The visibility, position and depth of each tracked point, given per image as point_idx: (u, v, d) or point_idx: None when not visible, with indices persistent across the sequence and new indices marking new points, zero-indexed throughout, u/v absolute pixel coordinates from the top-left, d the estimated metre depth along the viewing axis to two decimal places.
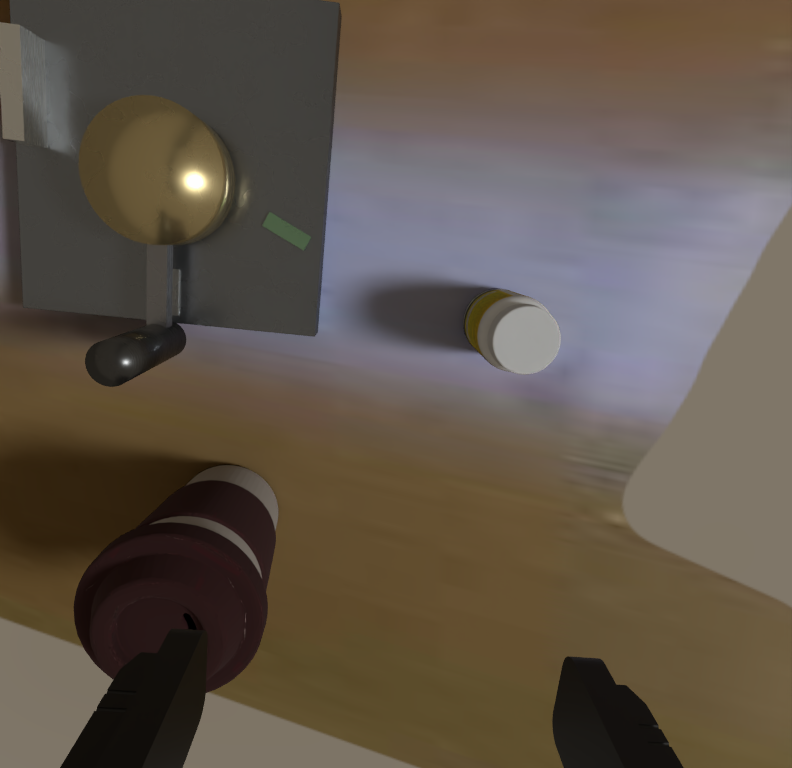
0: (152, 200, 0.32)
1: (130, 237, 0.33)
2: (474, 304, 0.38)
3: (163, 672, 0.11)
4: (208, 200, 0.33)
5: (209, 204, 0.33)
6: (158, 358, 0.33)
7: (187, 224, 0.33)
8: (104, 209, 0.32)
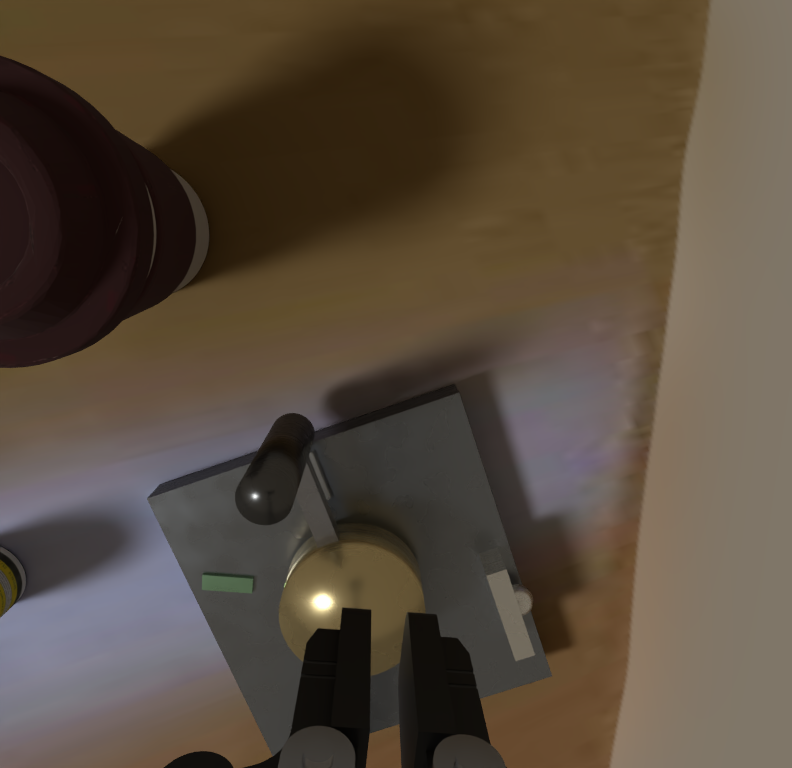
0: (340, 593, 0.31)
1: (348, 551, 0.30)
2: (8, 600, 0.34)
3: (353, 644, 0.12)
4: (289, 615, 0.31)
5: (286, 613, 0.31)
6: None
7: (299, 587, 0.30)
8: (383, 565, 0.30)
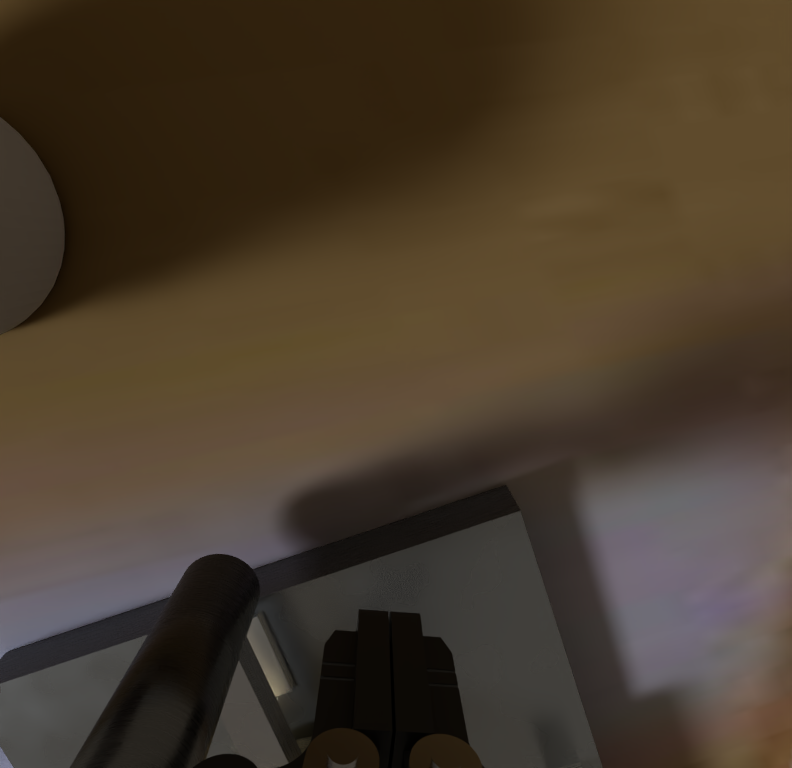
0: None
1: None
2: None
3: (371, 646, 0.12)
4: None
5: None
6: None
7: None
8: None
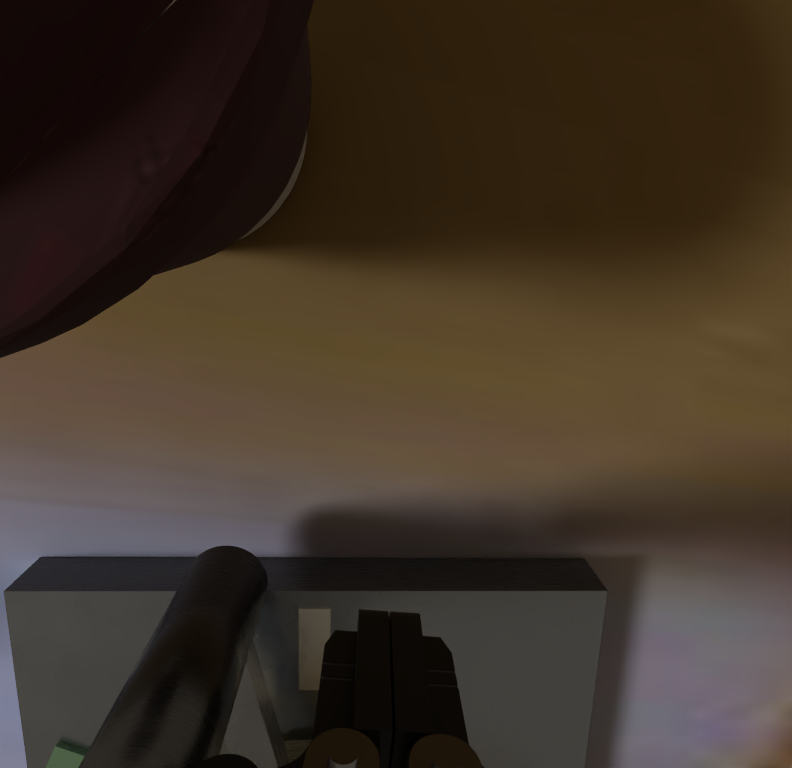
0: None
1: None
2: None
3: (372, 646, 0.12)
4: None
5: None
6: None
7: None
8: None
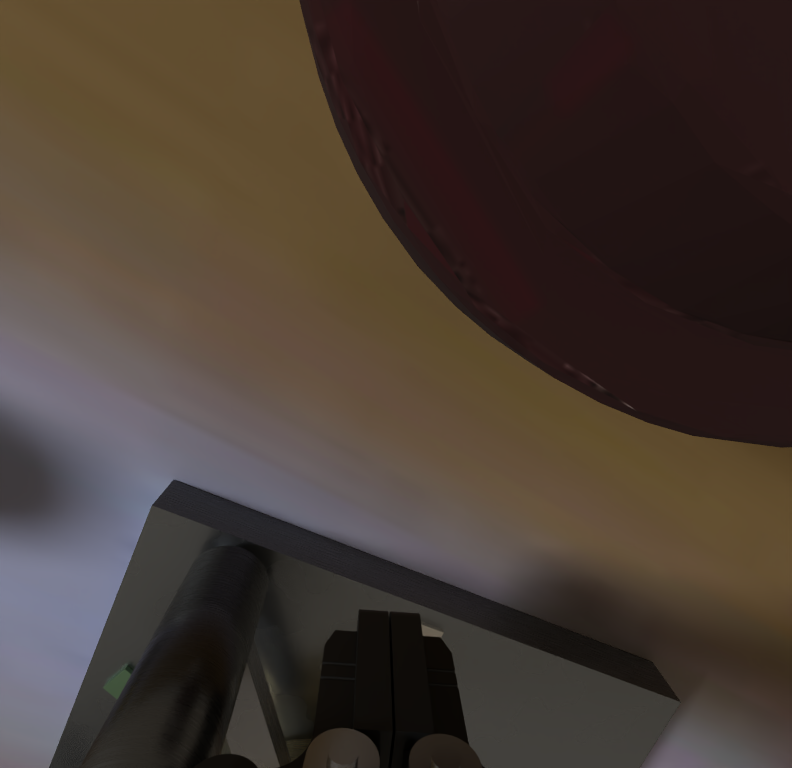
0: None
1: None
2: None
3: (372, 646, 0.12)
4: None
5: None
6: None
7: None
8: None
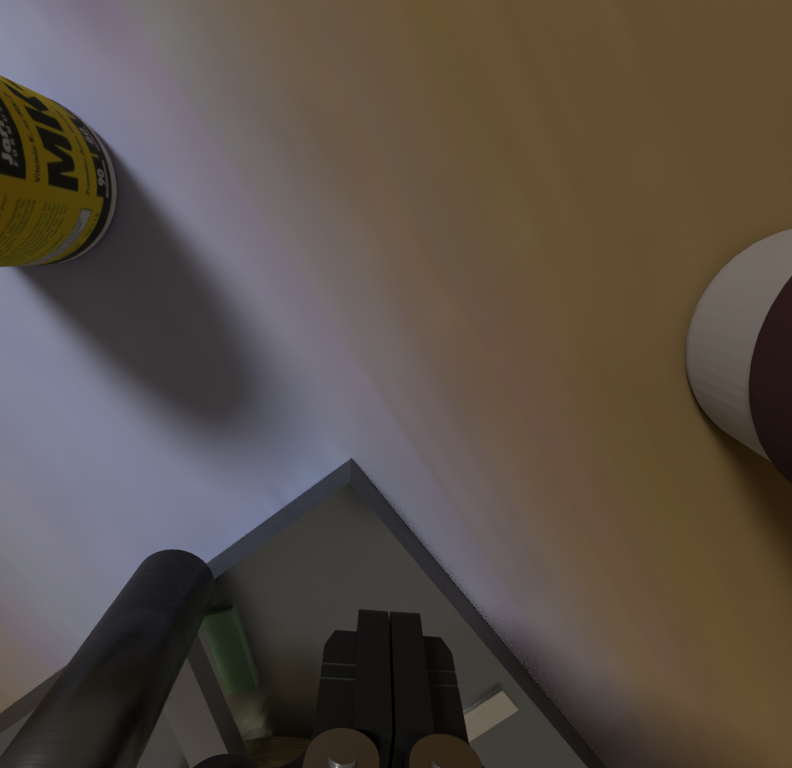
0: None
1: None
2: None
3: (371, 646, 0.12)
4: None
5: None
6: None
7: None
8: None
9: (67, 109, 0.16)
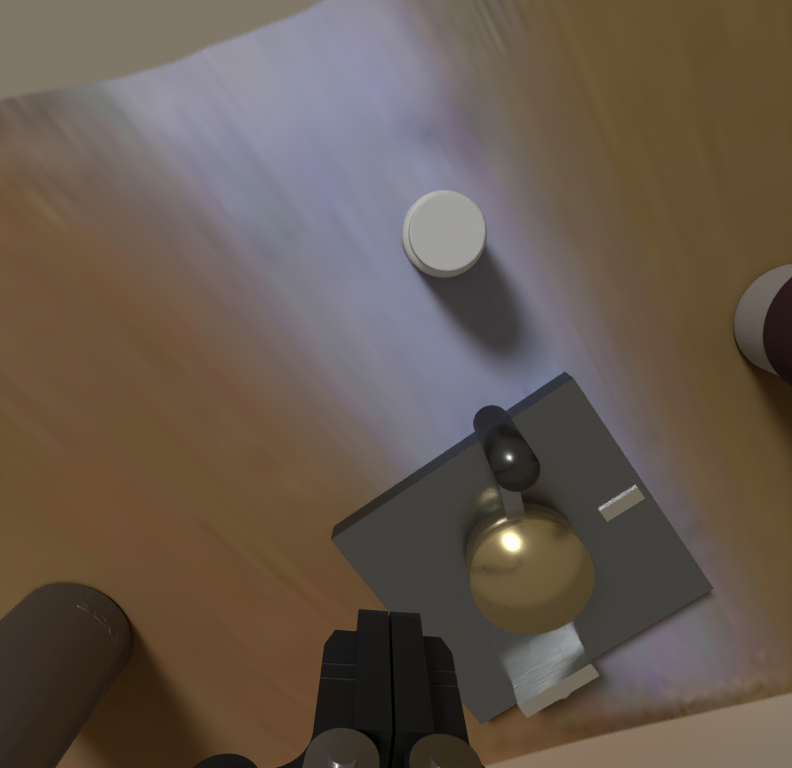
0: (525, 559, 0.36)
1: (538, 524, 0.36)
2: None
3: (371, 646, 0.12)
4: (479, 575, 0.37)
5: (477, 572, 0.37)
6: (483, 446, 0.33)
7: (492, 551, 0.36)
8: (565, 539, 0.36)
9: None
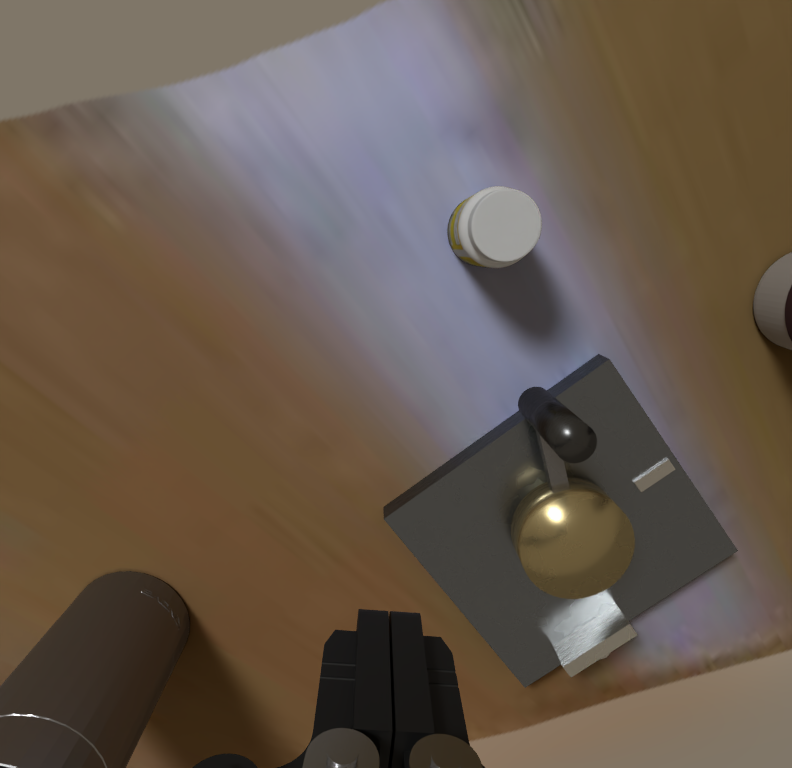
0: (571, 529, 0.39)
1: (583, 496, 0.39)
2: None
3: (371, 646, 0.12)
4: (529, 545, 0.39)
5: (527, 543, 0.39)
6: (536, 424, 0.35)
7: (540, 522, 0.39)
8: (608, 508, 0.39)
9: None
